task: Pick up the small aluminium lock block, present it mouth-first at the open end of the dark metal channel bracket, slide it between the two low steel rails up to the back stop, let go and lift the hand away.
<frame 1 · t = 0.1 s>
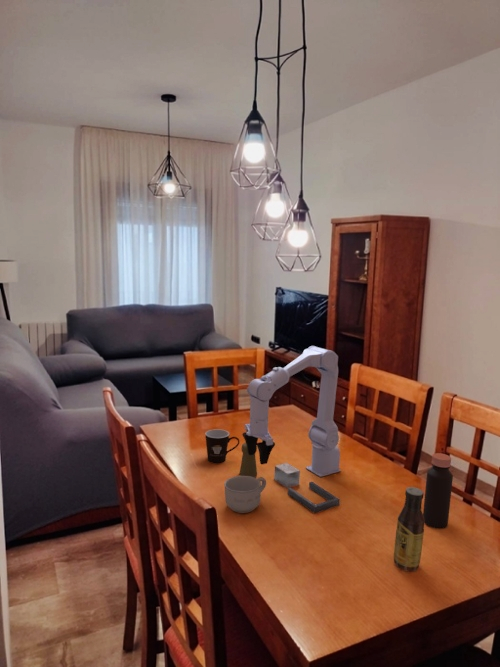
hand: (257, 458, 154), 10 cm above the table, tool pointing down, fingers open, 7 cm apart
channel bracket: (311, 498, 150), on the table
dark water bottle: (434, 523, 139), on the table
coffee mug: (220, 461, 176), on the table
lock block: (286, 482, 161), on the table
teacup: (246, 507, 144), on the table
olive pawn piece: (248, 474, 166), on the table
sauce bottle: (406, 566, 119), on the table
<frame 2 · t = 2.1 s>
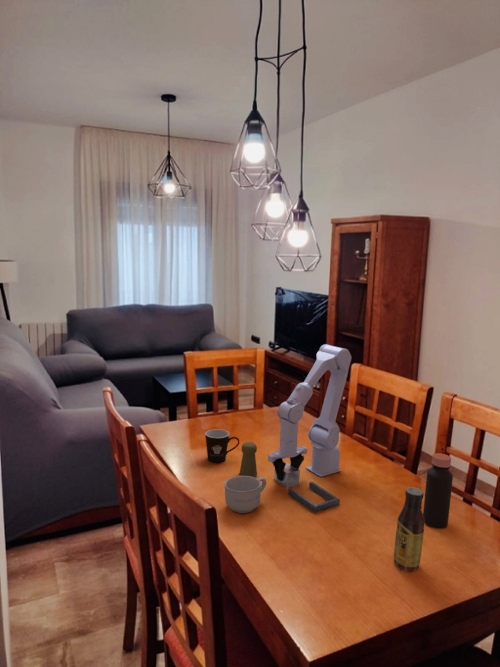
hand: (286, 477, 161), 1 cm above the table, tool pointing down, fingers closed on lock block, 5 cm apart
lock block: (286, 482, 161), on the table, touching gripper
everything else where it was.
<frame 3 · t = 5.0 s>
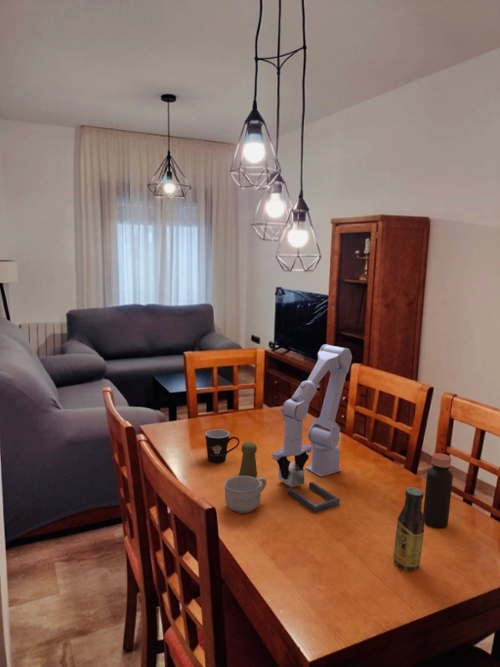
hand: (291, 476, 158), 3 cm above the table, tool pointing down, fingers closed on lock block, 5 cm apart
lock block: (291, 481, 159), point 1 cm above the table, touching gripper
everything else where it was.
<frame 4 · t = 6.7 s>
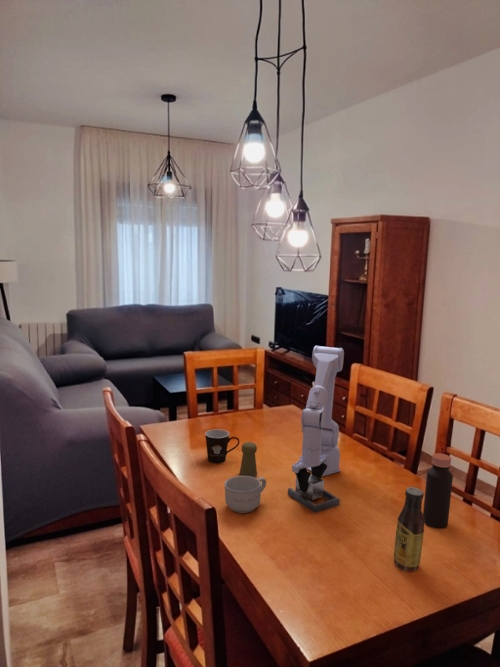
hand: (309, 488, 151), 3 cm above the table, tool pointing down, fingers closed on lock block, 5 cm apart
lock block: (309, 493, 151), point 1 cm above the table, touching gripper
everything else where it was.
when the fingers open (3 cm above the table, at t = 8.3 s): lock block drops 1 cm, resting in channel bracket.
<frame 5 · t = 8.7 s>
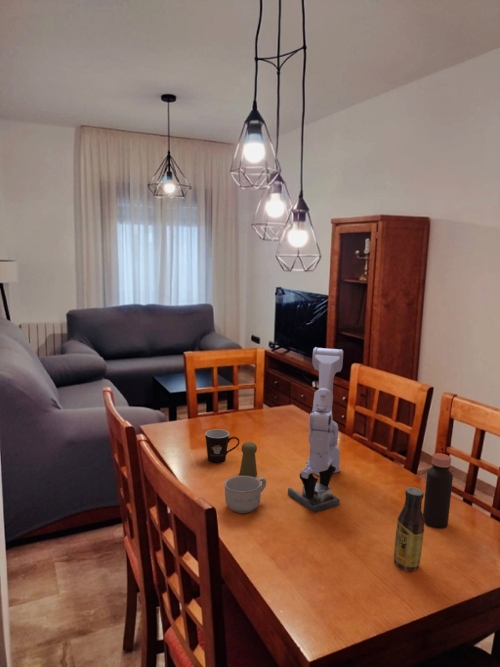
hand: (316, 492, 148), 3 cm above the table, tool pointing down, fingers open, 7 cm apart
lock block: (316, 502, 148), resting in channel bracket
everything else where it was.
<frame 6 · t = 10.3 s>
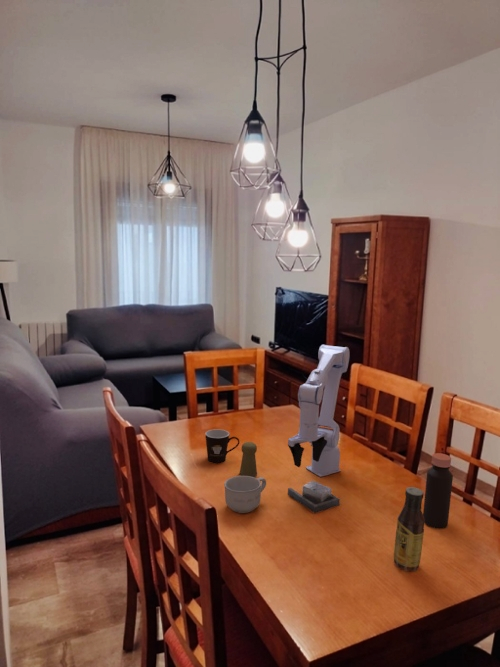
hand: (306, 463, 154), 9 cm above the table, tool pointing down, fingers open, 7 cm apart
nothing on the table moved.
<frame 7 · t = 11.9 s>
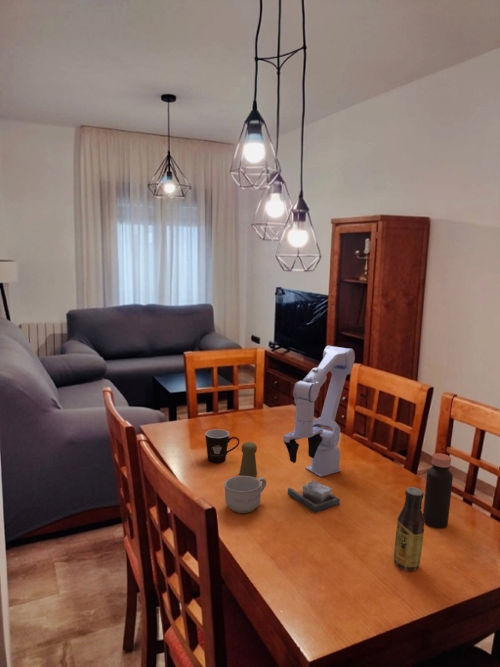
hand: (302, 459, 156), 9 cm above the table, tool pointing down, fingers open, 7 cm apart
nothing on the table moved.
at the end: lock block 0.8 cm from the target spot on the channel bracket, point 0.0 cm above the channel bracket's base; lock block tilted 0°; the gripper is holding nothing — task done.
